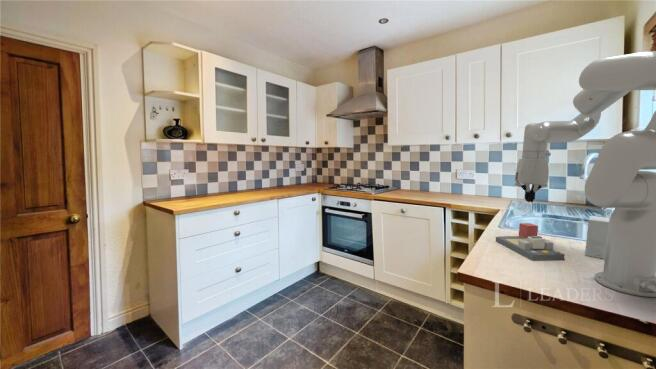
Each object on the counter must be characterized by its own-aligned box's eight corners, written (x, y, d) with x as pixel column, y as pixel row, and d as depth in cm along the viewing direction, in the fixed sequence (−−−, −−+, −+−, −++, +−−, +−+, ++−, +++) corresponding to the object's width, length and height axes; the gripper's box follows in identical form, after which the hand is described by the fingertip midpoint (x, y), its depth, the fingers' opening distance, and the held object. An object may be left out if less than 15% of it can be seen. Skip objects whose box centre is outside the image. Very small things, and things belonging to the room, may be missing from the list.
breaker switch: (544, 248, 97) (545, 237, 97) (533, 248, 97) (533, 238, 97) (537, 245, 100) (538, 235, 100) (526, 245, 100) (527, 235, 100)
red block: (536, 239, 114) (538, 225, 113) (526, 240, 114) (527, 226, 113) (528, 236, 118) (529, 223, 118) (518, 236, 118) (519, 223, 118)
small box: (610, 260, 92) (614, 222, 91) (584, 255, 97) (588, 219, 95) (610, 253, 98) (614, 218, 96) (586, 249, 102) (589, 215, 101)
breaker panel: (564, 259, 93) (565, 247, 93) (532, 260, 93) (533, 247, 92) (522, 240, 113) (522, 230, 112) (495, 241, 113) (496, 230, 112)
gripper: (552, 155, 108) (547, 200, 111) (508, 155, 113) (505, 198, 116) (561, 156, 101) (556, 204, 104) (515, 156, 106) (510, 202, 108)
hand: (529, 201), depth 110 cm, fingers closed
